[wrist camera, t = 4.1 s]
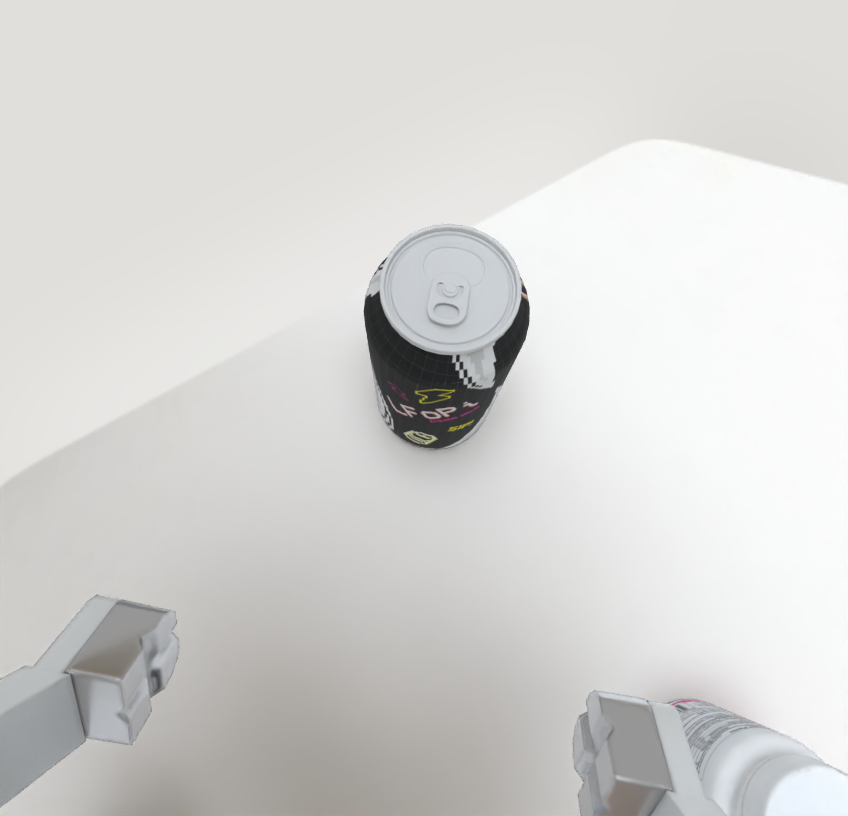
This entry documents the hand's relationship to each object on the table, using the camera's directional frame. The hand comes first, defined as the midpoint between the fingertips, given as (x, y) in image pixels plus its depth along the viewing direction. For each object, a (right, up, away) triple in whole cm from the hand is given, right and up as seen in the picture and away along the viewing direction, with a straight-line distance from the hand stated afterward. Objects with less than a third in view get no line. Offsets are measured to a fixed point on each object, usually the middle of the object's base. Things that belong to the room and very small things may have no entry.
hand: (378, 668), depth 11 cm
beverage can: (+1, +5, +18) cm, 19 cm away
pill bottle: (+13, -10, +14) cm, 22 cm away
